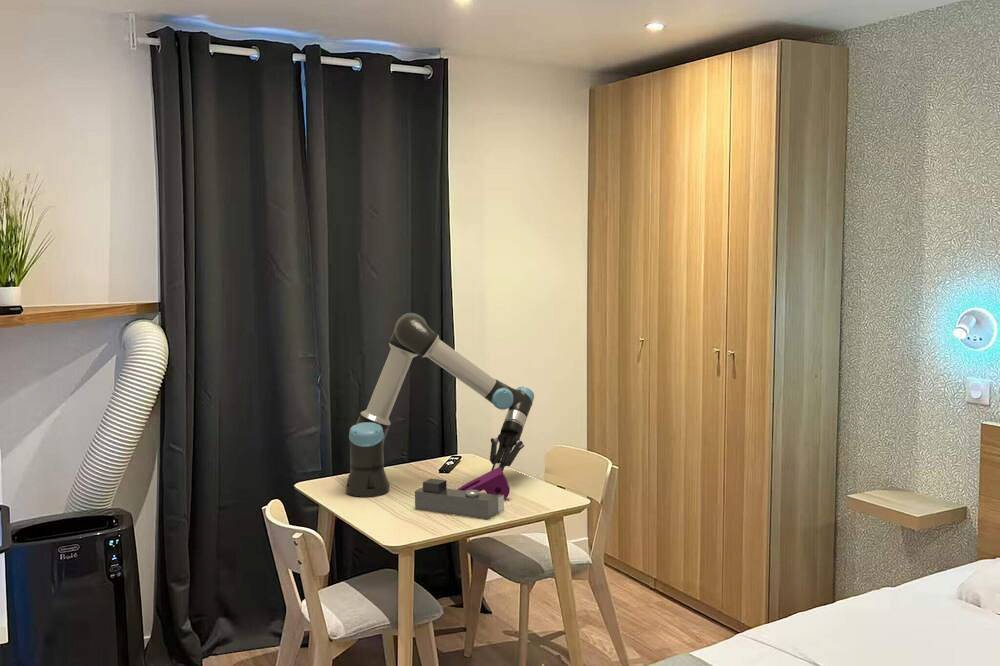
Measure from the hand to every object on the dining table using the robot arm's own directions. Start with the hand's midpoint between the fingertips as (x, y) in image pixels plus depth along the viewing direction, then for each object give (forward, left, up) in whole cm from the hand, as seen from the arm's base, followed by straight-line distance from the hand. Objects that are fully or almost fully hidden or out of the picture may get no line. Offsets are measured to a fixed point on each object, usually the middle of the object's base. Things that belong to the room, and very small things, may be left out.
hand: (493, 481), depth 307 cm
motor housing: (0, -24, -4) cm, 25 cm away
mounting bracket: (0, -9, -4) cm, 10 cm away
